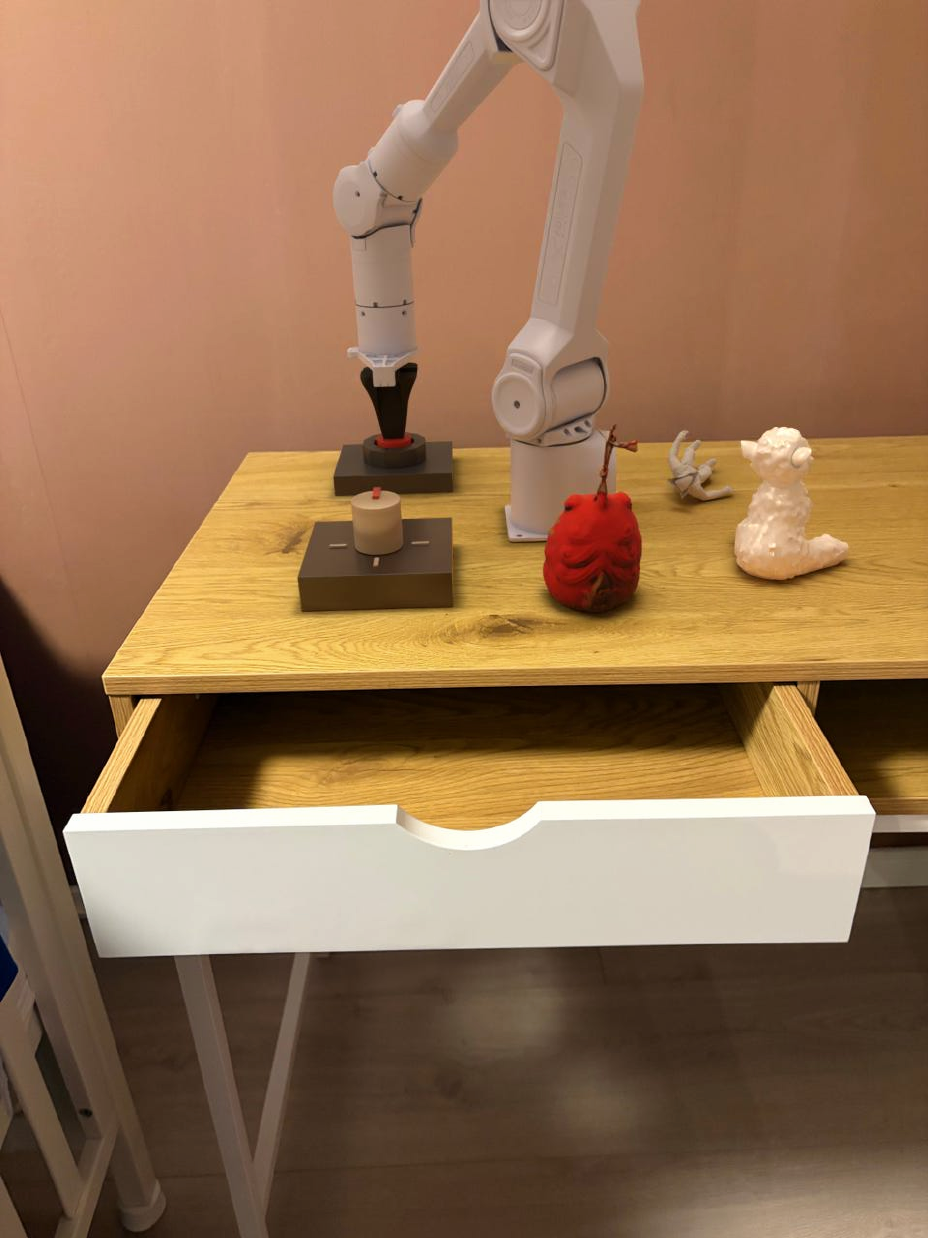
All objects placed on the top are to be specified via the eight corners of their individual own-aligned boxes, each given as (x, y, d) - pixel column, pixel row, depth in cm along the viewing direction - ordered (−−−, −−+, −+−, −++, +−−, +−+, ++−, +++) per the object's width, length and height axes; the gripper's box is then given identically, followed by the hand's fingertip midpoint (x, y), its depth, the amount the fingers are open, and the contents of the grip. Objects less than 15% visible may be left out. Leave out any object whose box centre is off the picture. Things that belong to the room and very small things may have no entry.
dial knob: (402, 554, 76) (398, 504, 74) (352, 555, 76) (347, 506, 74) (404, 534, 79) (401, 486, 77) (357, 535, 79) (352, 487, 77)
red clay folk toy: (624, 575, 78) (635, 396, 71) (652, 615, 72) (667, 424, 65) (535, 584, 77) (536, 404, 70) (555, 625, 71) (559, 432, 64)
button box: (452, 460, 104) (451, 424, 102) (452, 493, 96) (451, 455, 94) (345, 463, 104) (341, 428, 102) (335, 496, 96) (331, 459, 94)
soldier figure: (736, 482, 98) (743, 488, 87) (698, 513, 100) (701, 522, 88) (687, 426, 98) (689, 423, 87) (651, 457, 100) (647, 459, 88)
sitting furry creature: (849, 560, 79) (875, 421, 73) (812, 600, 73) (836, 452, 67) (742, 535, 84) (758, 403, 79) (699, 570, 78) (713, 430, 73)
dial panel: (453, 548, 84) (451, 515, 82) (453, 606, 74) (451, 570, 73) (318, 552, 84) (315, 519, 82) (301, 611, 74) (296, 575, 73)
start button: (412, 446, 100) (411, 430, 99) (411, 458, 97) (410, 441, 96) (379, 447, 100) (377, 432, 99) (376, 459, 97) (375, 442, 96)
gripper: (350, 290, 98) (361, 418, 104) (335, 318, 85) (348, 462, 91) (418, 288, 98) (424, 416, 104) (413, 316, 85) (421, 459, 91)
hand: (393, 437), depth 98 cm, fingers closed, pressing on start button
